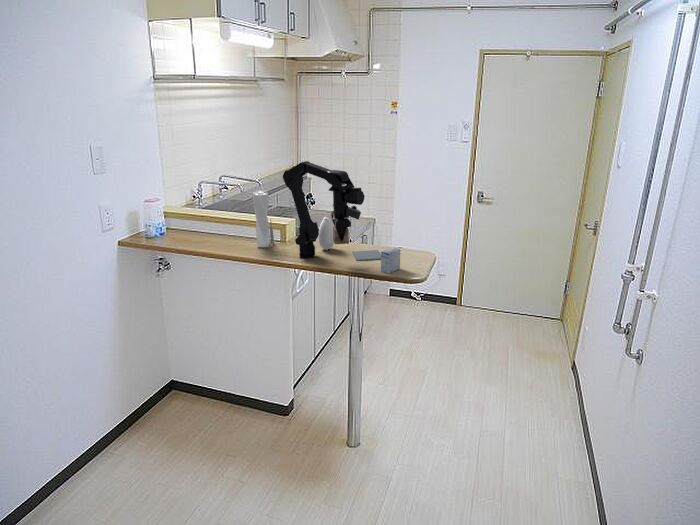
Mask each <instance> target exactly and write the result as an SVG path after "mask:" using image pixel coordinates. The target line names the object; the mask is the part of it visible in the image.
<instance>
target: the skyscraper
mask: <svg viewBox="0 0 700 525" xmlns="http://www.w3.org/2000/svg"><path fill="white" fill-rule="evenodd" d="M252 203H253V211H254V215H255V225H256V226H255V229H256V230H255V232H256V245H257V249H267V248H268V249H272V248H273V247H274V245H275V244H274V243H275V240H274V239H275V238H274V227H273V222H272V219H271V218H270V222H269V219H268V212H269V193H268V191H267V190H265V189H257V191H252ZM269 223H270V225H269Z"/></svg>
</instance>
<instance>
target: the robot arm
mask: <svg viewBox="0 0 700 525" xmlns="http://www.w3.org/2000/svg"><path fill="white" fill-rule="evenodd" d="M306 174H310V175H312V176H315V177H318V178H320V179H323V180H324V181H326V182H327V184H329V185H331V186H330V187H329V188H328V191H329V192H332V200H333V201H332V202H333V203H332V207H333V208H332V209H333V210H331V212H330V218H331V222H332V225H333V227H335V228H336V230H337V233H338V235H339V238H340V240H341V241H343V239H344V235H345V231H346V229H347V228H348V229H349V228H350V227H352V221H351V220H350V219H349V218H350V217H351V218H353V219H355V220H358V221H359V220H360V217H361V214H362V212H361V211H360V210H359V209H358V207H357V206H358V205H359V206H361V205H363V204H364V201H365V193H364V191H362V187H355V185H354V183H353V182H352V180H351V178H350V177H349V174H348V172H347V171H346V170H338V169H329V168H327V167H323V166H321V165H317V164H315V163H313V162H310V161H308V160H305V161H300V162H299V163H298V164H296V165H295V166H293V167H292V168H289V169H287V170H284V172H283V174H282V179H283V182H284V184H285V186H286V187H287V188H288V189H289V191H290V192H291V195H292V199H293V202H294V206H295V208H296V212H297V216H298V219H299V220H298V221H299V227H298V233H299V234H298V236H296V238H295V239H294V240H295V241H294V242H295V244H296V245H298V246H299V247H298V249H299V253H298V255H299V258H300V259H308V258H309V259H310V258H312V259H313V258H315V255H316V246H315V244H314V243H315V242H316V241H317V240H318V235H319V226H318V223H317V222H316V221H315V222H314V221H313V220H312V219H311V215H310V211H309V207H308V204H307V201H306V197H305V194H304V191H303V185H304V176H305V175H306ZM348 204H350V205H352V206H350V207H349V205H348ZM356 205H357V206H356Z"/></svg>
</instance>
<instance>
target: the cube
mask: <svg viewBox="0 0 700 525" xmlns="http://www.w3.org/2000/svg"><path fill="white" fill-rule="evenodd" d="M349 231H350V230H349V227H348V228H347V229H346V231H345V235H344V239H343V241H341V240H340V238H339V235H338V233H337V230H336V228H335V226H333V241H334V245H345V244H346V245H348V244H350V232H349Z"/></svg>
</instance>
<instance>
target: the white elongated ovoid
mask: <svg viewBox="0 0 700 525" xmlns="http://www.w3.org/2000/svg"><path fill="white" fill-rule="evenodd" d="M333 227H334V224H333V222H332V220H330V217H327V213H325V216H324V217H323V219H322V221H321V223H320V225H319V226H318V229H319V235H318V237H317V240H318V244H319V246H320V247H321V248H322V249H323V250H325V251H329V250H331V248H333V246H334V245H335V243H334V241H333ZM328 249H329V250H328Z"/></svg>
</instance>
